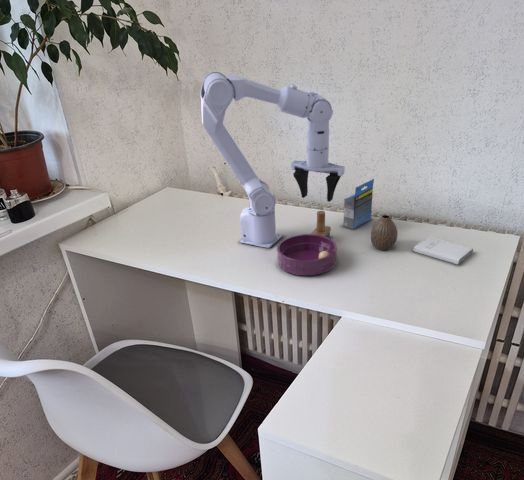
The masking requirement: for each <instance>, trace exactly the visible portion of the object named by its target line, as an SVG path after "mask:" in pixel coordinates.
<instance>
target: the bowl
mask: <svg viewBox="0 0 524 480" xmlns="http://www.w3.org/2000/svg"><path fill="white" fill-rule="evenodd" d="M322 251H327V252H328V253H329V255H328V256H326V257H323V258H320V259H319V254H320V253H321V252H322ZM276 252H277V253H276V258H277V259H276V260H277V266H278V267H279V268H280V269H281V270H283V271H284V272H287V273H289V274H292V275H296V276H304V277H305V276H307V277H308V276H316V275H320V274H324V273H326V272H329V271H330V270H332V269H333V268H334V267H335V266H336V264H337V262H338V261H337V259H338V258H337V257H338V245H337V243H336V242H335V240H333V239H332V238H331V237H330V238H328V237H325V236H321V235H314V234H311V233H305V234H295V235H292V236H289V237H287V238H284V239H282V240H280V242H279V243H278V244H277V246H276Z"/></svg>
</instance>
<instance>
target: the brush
mask: <svg viewBox="0 0 524 480" xmlns="http://www.w3.org/2000/svg"><path fill="white" fill-rule="evenodd" d="M331 230H332V226H329V225H326V211H325V210H318V211H317V212H316V228H314V229H313V231H311V233H310V234H314V235H321V236H325V237H328V238H330V239H331Z"/></svg>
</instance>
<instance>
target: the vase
mask: <svg viewBox="0 0 524 480" xmlns="http://www.w3.org/2000/svg"><path fill="white" fill-rule="evenodd" d="M398 232H399V231H398V227H397V225H396V223H395V222H394V221H393V219H392V217H391V215H389V214H382V215H381V216H380V217H379V219H378V220H377V221H376V222H375V223H374V225H373V226H372V229H371V230H370V241H371V244H372V246H373V247H374V248H375V249H376V250H378V251H389V250H390V249H392V248H393V247H394V246H395V245H396V242H397V240H398V235H399V233H398Z"/></svg>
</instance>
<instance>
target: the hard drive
mask: <svg viewBox="0 0 524 480" xmlns="http://www.w3.org/2000/svg"><path fill="white" fill-rule="evenodd" d="M412 252H414V253H417V254H421V255H424V256H426V257H431V258H435V259H437V260H441V261H443V262H447V263H451V264H453V265H456V266H457V265H460V264H461V263H463V262H464V261H465V260H466V259H467V258H469V257H470V256H471V255H472V254H473V252H474V248H473V247H470V246H467V245H462V244H459V243H455V242H451V241H447V240H443V239H440V238H436V237H434V236H433V237H432V236H427V237H425V238H424V239H422V240H421V241H420V242H418V243H417V244H415V245H414V247H413V250H412Z"/></svg>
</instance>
